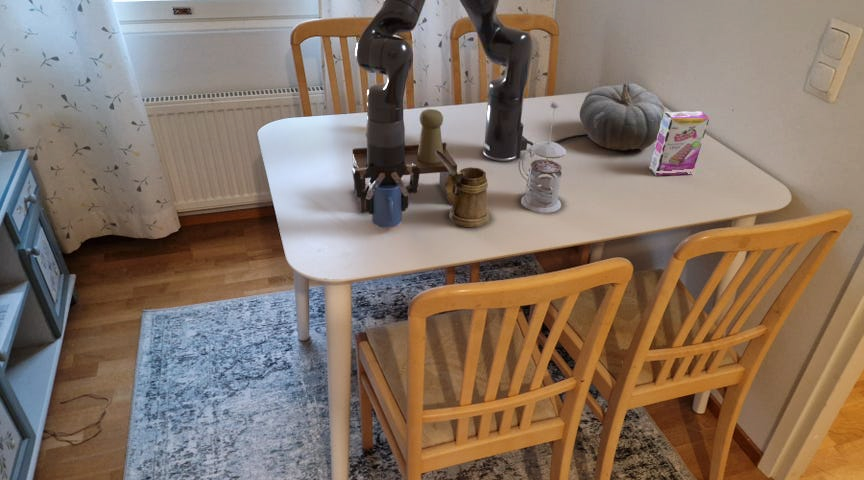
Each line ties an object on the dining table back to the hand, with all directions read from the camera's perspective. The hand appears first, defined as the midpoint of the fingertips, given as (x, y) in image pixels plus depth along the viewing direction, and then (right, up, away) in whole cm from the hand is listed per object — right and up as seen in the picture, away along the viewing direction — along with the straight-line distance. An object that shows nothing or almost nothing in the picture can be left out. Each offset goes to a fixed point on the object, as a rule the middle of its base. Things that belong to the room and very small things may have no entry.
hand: (386, 210), depth 136 cm
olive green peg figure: (+9, +13, +10) cm, 18 cm away
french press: (+34, +4, +17) cm, 38 cm away
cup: (0, -2, +1) cm, 2 cm away
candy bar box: (+72, +14, +36) cm, 82 cm away
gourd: (+61, +25, +51) cm, 84 cm away
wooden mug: (+16, -1, +7) cm, 17 cm away
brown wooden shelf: (+2, +4, +13) cm, 14 cm away
